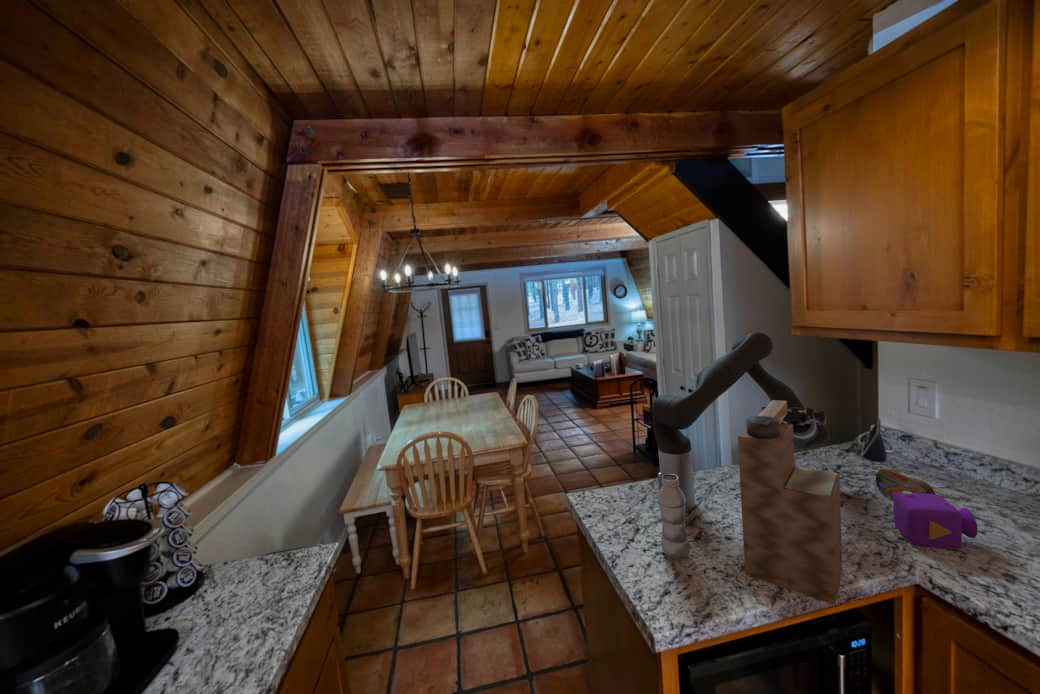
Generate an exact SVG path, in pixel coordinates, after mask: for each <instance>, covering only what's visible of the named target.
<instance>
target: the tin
mask: <svg viewBox="0 0 1040 694" xmlns="http://www.w3.org/2000/svg"><path fill="white" fill-rule="evenodd" d="M875 485H876V487H877V489H878V490H879V493H880V494H882V496H884V498H886V499H887V500H889V501H891V502H894V494H895V493H898V492H903V491H909V492H912V493H922V494H935V495H937V493H936V492H935V490H934V489H933V487H932V486H931V485H930V484H928V482H926V481H925V480H922V479H919V478H917V477H915V476H912V475H910V474H907V473H905V472H902V471H900V470H898V469H895V468H882V469H879V470H878V471H877V473H876V475H875Z"/></svg>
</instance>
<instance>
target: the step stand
mask: <svg viewBox="0 0 1040 694" xmlns="http://www.w3.org/2000/svg"><path fill="white" fill-rule="evenodd" d="M779 433H780V435H779V436H778V437H776V438H770V439H763V438H756V437H752V436H750V435H748V434H747V426H745V428H744V429H743V430H742V431H741V432H740V433H739V434H738V435H737V446H738V447H737V448H738V464H739V467H738V468H739V481H740V482H739V483H740V484H739V485H740V503H741V519H742V520H741V522H742V538H743V539H742V542H743V557H744V559H743V560H744V574H745V575H746V576H748V577H752V578H755V579H757V580H761V581H763V582H766V583H769V584H772V585H775V586H778V587H781V588H784V589H786V590H789V591H791V592H796V593H798V594H802V595H805V596H807V597H809V598H810V597H811V598H813V599H816V600H819V601H821V602H824V603H827V604H831V605H834V606H836V604H837V599H838V594H839V589H840V586H841V585H840V583H841V578H842V574H843V558H842V557H843V556H842V555H843V554H842V553H843V552H842V518H841V515H842V514H841V513H842V512H841V486H840V485H841V483H840V482H841V480H840V478H841V475H840V474H838V473H837V472H831V471H827V470H826V471H825V470H821V469H820V470H818V469H813V468H808V467H802V466H795V446H794V439H793V425H792V424H782V423H781V422H780V424H779Z"/></svg>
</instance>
